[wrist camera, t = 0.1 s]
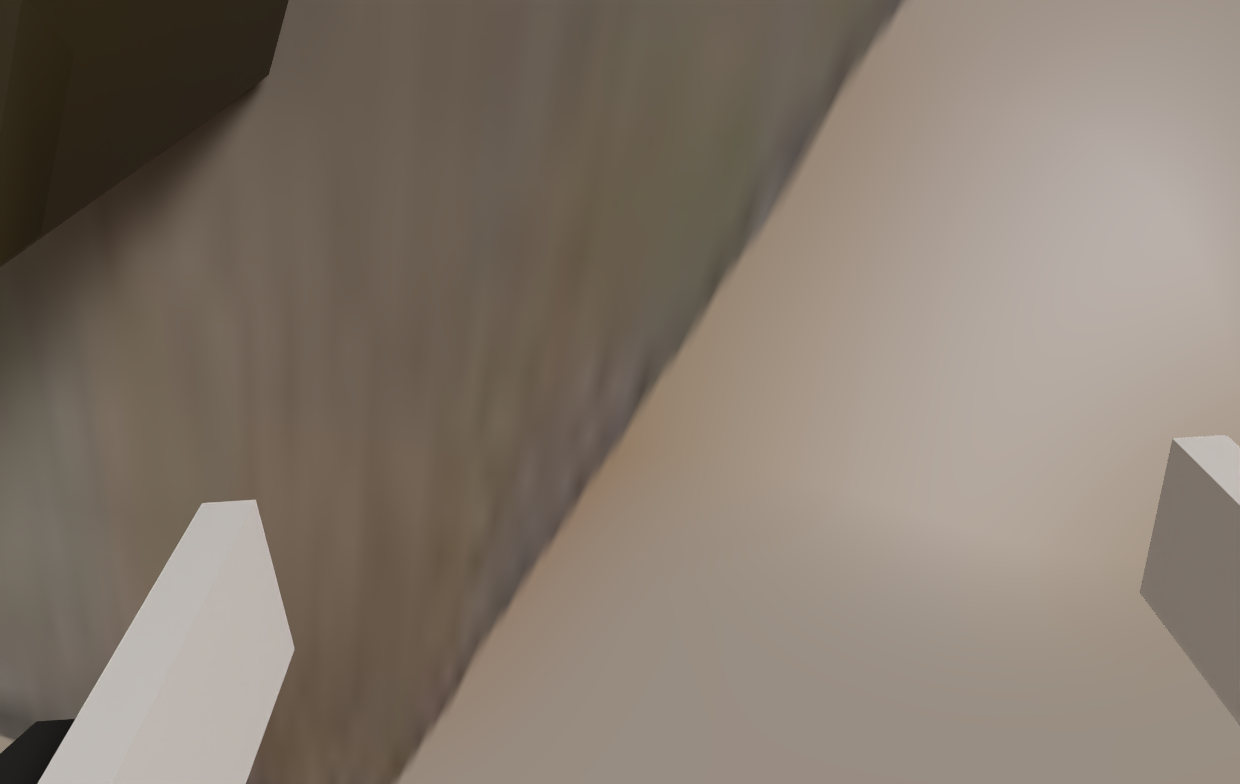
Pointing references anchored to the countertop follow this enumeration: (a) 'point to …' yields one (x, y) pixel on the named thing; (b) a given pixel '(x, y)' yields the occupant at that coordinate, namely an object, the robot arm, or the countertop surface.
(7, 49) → the bottle
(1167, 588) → the robot arm
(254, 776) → the countertop surface
